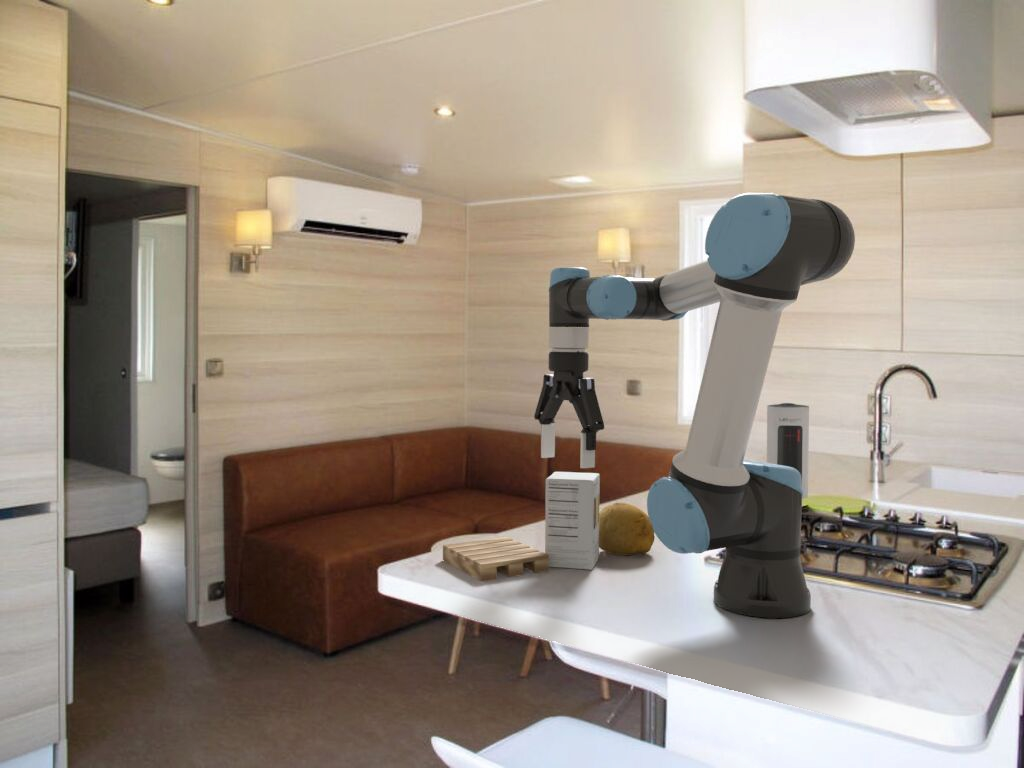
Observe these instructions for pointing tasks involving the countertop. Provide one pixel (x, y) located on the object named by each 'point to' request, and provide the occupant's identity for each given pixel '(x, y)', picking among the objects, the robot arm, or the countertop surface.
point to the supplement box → (572, 519)
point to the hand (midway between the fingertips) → (566, 462)
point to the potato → (625, 530)
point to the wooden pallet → (495, 558)
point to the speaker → (789, 438)
